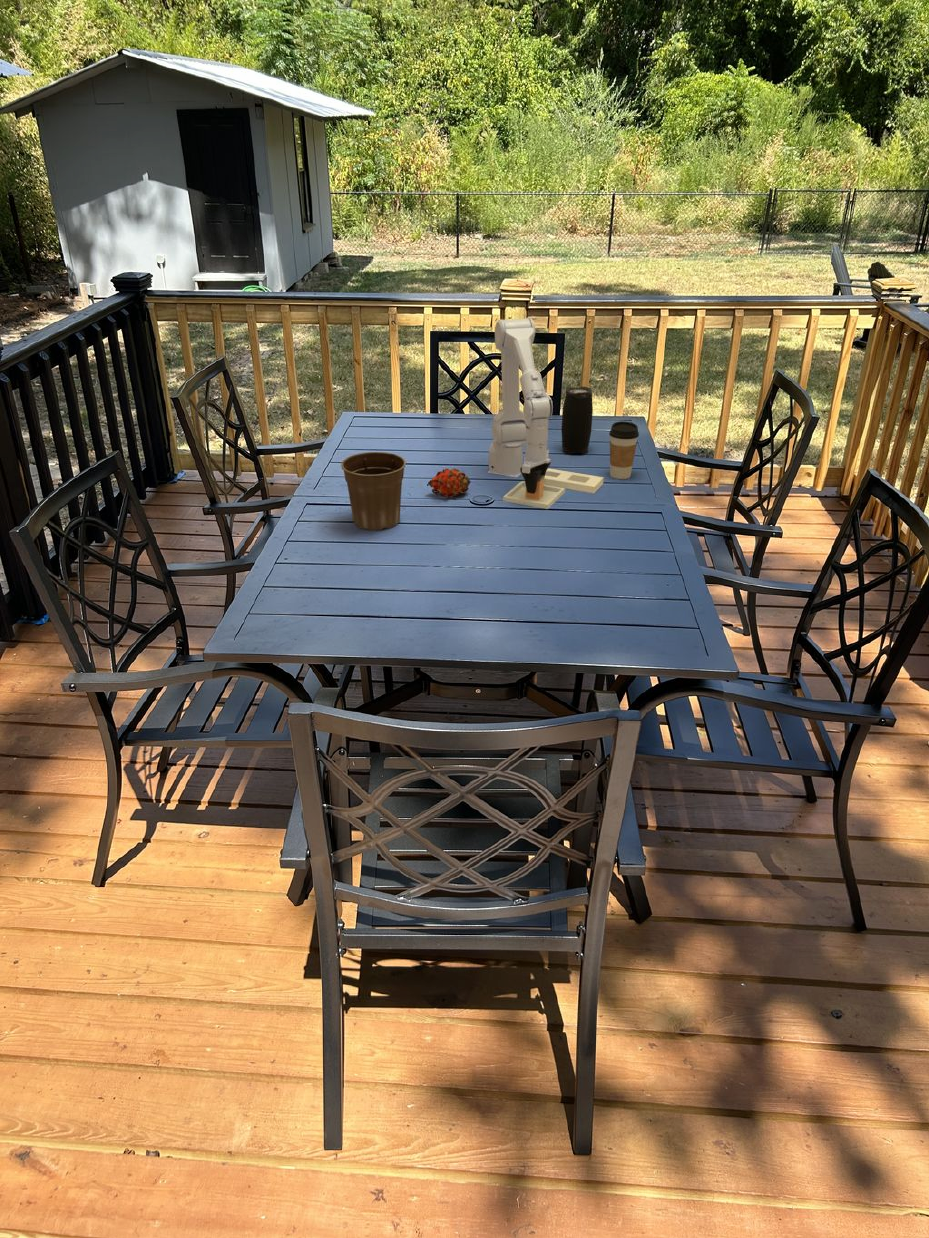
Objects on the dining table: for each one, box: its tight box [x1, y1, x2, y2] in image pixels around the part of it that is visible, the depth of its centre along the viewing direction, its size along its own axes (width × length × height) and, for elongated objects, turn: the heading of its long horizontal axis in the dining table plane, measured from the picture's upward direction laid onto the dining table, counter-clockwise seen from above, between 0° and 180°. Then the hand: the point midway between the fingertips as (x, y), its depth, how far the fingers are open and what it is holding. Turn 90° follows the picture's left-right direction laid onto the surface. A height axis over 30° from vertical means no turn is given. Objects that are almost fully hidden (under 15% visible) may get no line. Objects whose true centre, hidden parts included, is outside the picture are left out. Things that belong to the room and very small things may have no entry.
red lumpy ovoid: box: [426, 467, 471, 499], centre depth 249 cm, size 8×8×12 cm
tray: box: [502, 480, 566, 510], centre depth 248 cm, size 13×13×2 cm
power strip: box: [544, 467, 604, 494], centre depth 257 cm, size 18×8×3 cm, turn 64°
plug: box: [525, 475, 544, 500], centre depth 247 cm, size 4×3×6 cm
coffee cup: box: [608, 420, 640, 480], centre depth 260 cm, size 8×8×15 cm
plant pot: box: [341, 451, 407, 531], centre depth 231 cm, size 16×16×16 cm
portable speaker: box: [561, 386, 594, 456], centre depth 277 cm, size 9×9×20 cm
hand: (534, 489), depth 247 cm, fingers open, 4 cm apart
